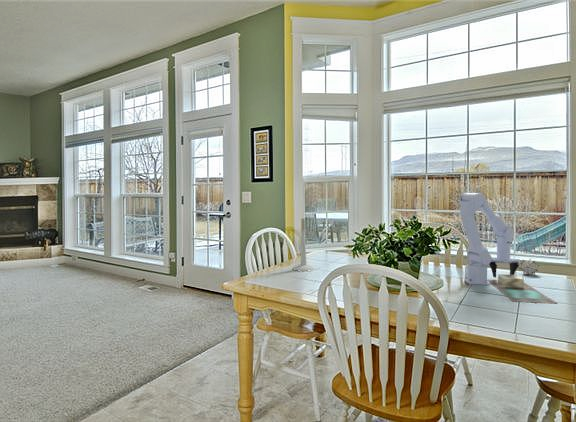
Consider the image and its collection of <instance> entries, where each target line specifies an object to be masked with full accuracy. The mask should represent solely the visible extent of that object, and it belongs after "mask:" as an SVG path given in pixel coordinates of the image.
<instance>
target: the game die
mask: <svg viewBox="0 0 576 422" xmlns="http://www.w3.org/2000/svg"><path fill="white" fill-rule="evenodd" d="M522 261H523V262H522V263H521V262H520V264H519V265H520V267H518V269H519V270H521V271H522V273H523V274H527V276H529V275H532V274H534V275H536V272H539V269H538V267H540V265H539V264H537V263H536V260H532V259H531V258H529V259H527V260H524V259H522Z"/></svg>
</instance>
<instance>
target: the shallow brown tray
mask: <svg viewBox="0 0 576 422" xmlns="http://www.w3.org/2000/svg"><path fill="white" fill-rule="evenodd" d="M487 282H488V283H490V285H492V286H493V287H494V288H496V289H497V290H498V291H500V293H501V294H503V295H504V296H506V298H508V299H509V300H510V301H512V302H515V303H532V304H533V303H535V304H558V302H557V301H555V300H553V299H551V298H550V297H549V296H547V295H545V294H543V293H542V292H541V291H538V290H537V289H535V288H534V287H533V286H531V285H529V284H528V283H526V282H524V288H515V287H504V286H502V285H501V284H499V283H498V279H488V278H487Z"/></svg>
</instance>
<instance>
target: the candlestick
mask: <svg viewBox="0 0 576 422" xmlns="http://www.w3.org/2000/svg"><path fill="white" fill-rule="evenodd" d="M300 221H301V227H300V228H301V229H300V230H299V231H300V234H301V246H300V247H301V248H300V250H301V251H300V263H299V264H297V265H295V266H293V267H292V270H293V269H295V270H300V271H307V272H309V271H308V270H313V269H316V267H315V266H313V265H312V264H309V263H308V262H307V249H306V248H307V245H306V236H305V235H306V231H307V230H306V223H305V221H306V219H305V218H301V220H300ZM295 270H294V271H295ZM300 271H299V272H300ZM313 271H314V270H313Z"/></svg>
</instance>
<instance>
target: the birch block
mask: <svg viewBox="0 0 576 422" xmlns="http://www.w3.org/2000/svg"><path fill="white" fill-rule="evenodd" d="M497 280H498V283H499V284H501V285H502V286H504V287H515V288H524V283H525V278H523V277H521V276H519V275H517V274H514V275H510V274H499V273H498V275H497Z"/></svg>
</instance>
